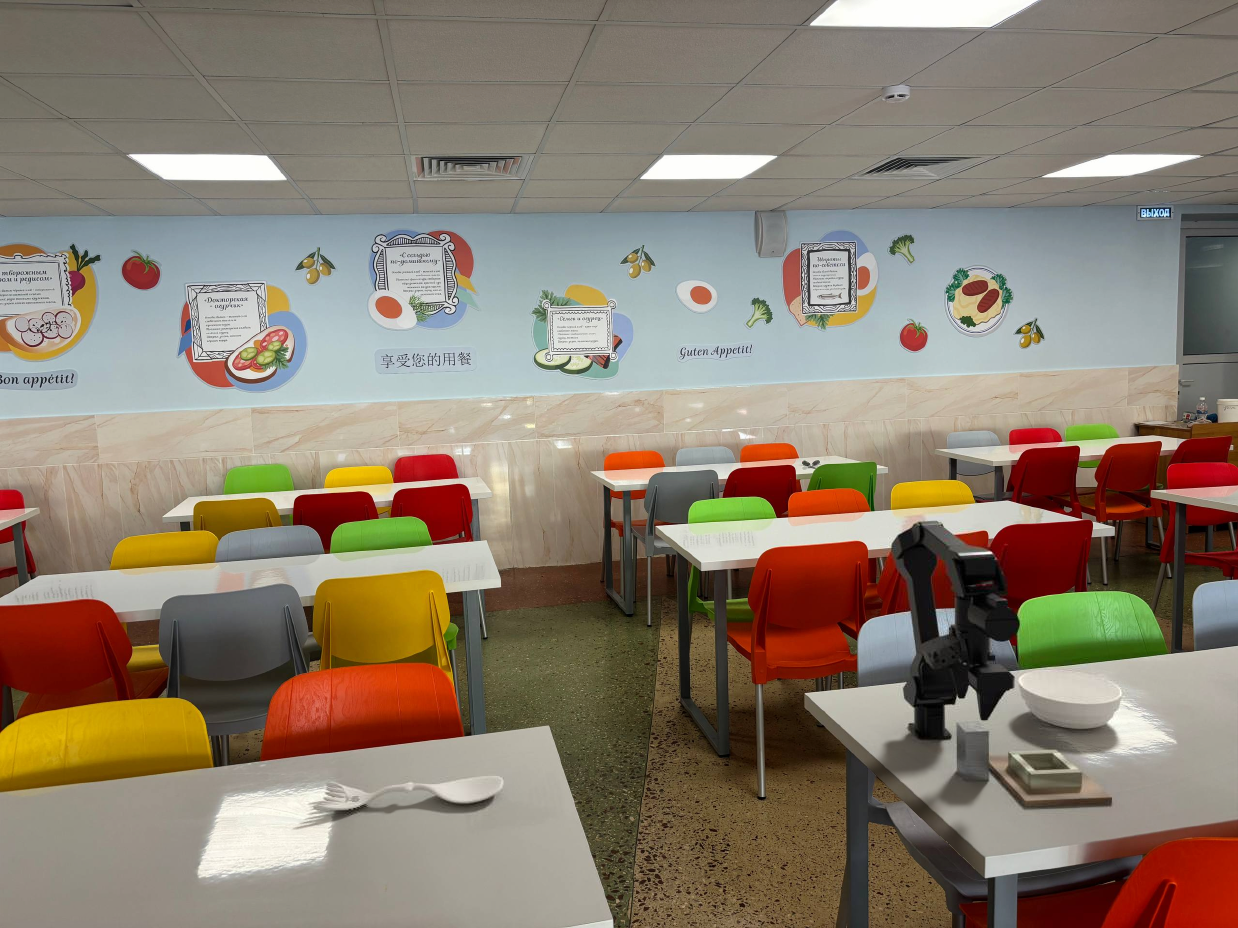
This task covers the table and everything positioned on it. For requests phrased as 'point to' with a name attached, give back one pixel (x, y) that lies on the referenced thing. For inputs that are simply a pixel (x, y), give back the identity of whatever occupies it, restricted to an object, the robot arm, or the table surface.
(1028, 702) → the bowl
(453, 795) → the white spork
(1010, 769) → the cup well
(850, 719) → the table surface
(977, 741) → the grey tall block
